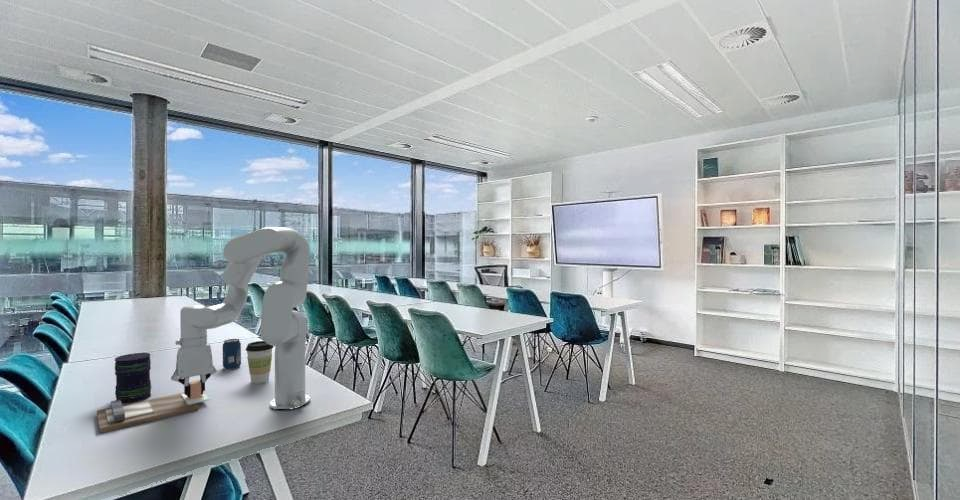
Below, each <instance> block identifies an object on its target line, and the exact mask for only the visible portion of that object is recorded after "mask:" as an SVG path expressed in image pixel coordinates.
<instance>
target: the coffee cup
mask: <svg viewBox="0 0 960 500" xmlns="http://www.w3.org/2000/svg"><path fill="white" fill-rule="evenodd" d="M273 349H274V346H272V345H269V344H267V343H266V342H265V341H264V340H261V341H260V340H259V341H253V342H250V343H248V344H247V346H246V348H245V351H246V354H247V356H246V357H247V363H248V370H249V376H250V383H251V384H253V383H260V384H263V383H262V382H265V383H267V382H269V381H268V380H270V373H271V368H272V359H273ZM266 381H267V382H266Z"/></svg>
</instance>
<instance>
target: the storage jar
mask: <svg viewBox="0 0 960 500" xmlns="http://www.w3.org/2000/svg"><path fill="white" fill-rule="evenodd" d="M114 362H115V363H114V370H115V371H114V374H115V378H116V379H115V381H116V383H115V387H114V388H115V392H114V394H115V398H116V399H115V401H116V400H121V403H122V405H125V404H130V403H135V402H140V401H145V400H149V398H151V396H152V393H151V392H152V384H151V383H152V381H151V376H150V374H151V363H152V361H151V353H150V352H149V353H148V352H137V353H135V352H134V353H128V354H123V355H120V356H117V357H115V358H114Z"/></svg>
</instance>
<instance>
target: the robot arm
mask: <svg viewBox="0 0 960 500" xmlns="http://www.w3.org/2000/svg"><path fill="white" fill-rule="evenodd" d="M310 247H311V246H310V244H309V241H308V239H307V238H306V237H305V236H304V235H303V234H302V233H301V232H299V231H297V230H296V229H294V228H293V229H292V228H289V227H279V226H277V227H276V226H275V227H274V226H269V227H267V226H266V227H263V228H260V229H256V230H254V231H251V232H248V233H245V234H242V235H239V236H235V237H234V238H231V239H230V240H228V241H227V243H226V244H225V245H224V247H223V251H222V252H223V253H222V254H223V257H224V258H225V260H226V261H227V262H228V263H227V265H226V266H225V268H224V270H223V272H222V273H221V279H222V281H223V282H224V283H225V284H227V285H228V289H227V292H226V295H225V297H224V298H223V301H222V302H221V303H218V304H215V305H211V306H205V305H200V304H194V305H193V304H192V305H187V306H186V305H185V306H183V307H182V308H181V309H180V315H179V316H180V323H179V324H180V337H179V339H178V340H175V342H174V343H175V345H176V346H178V345H179V346H178V348H177V353H176V360H175V361H176V362H175V365H176V366H175V371H174V373H173V374H172V376H171V377H170V378H171V381H174V382H178V383H180V384H182V385H183V389H184V390H183V391H184V394H185V395H187V397H191V394H190V385H189V382H190V378H192V377H193V378H194V377H198V376H199V381H200V382H201V395H202V394H203V393H204V392H205V391H206V382H207V380H208V379H210V378H211V376H213V375H214V374H216V373H217V372H218V370H217V369H216V367H215V366H214V364H213V363H214V361H213V353H212V352H213V351H212V348H211V347H212V346H211V344H210V343H209V342H208V330H213V329H216V328H219V327H222V326H225V325H229V324H232V323H233V322H234V321H235V320H236V319H238V317H239V316H240V314H241V312H242V311H243V309H244V306H246V302H247V299H248V296H249V295H248V294H249V293H248V292H249V288H248V286H249V284H250V281H251V279H253V276H254V274H255V273H256V270H257V268H258V266H259V265H260V263H261V261H262V259H263V258H264V256H268V255H271V254H280V253H282V254H284V258H283V261H282V264H281V266H280V278H279V281H277V282H274V283H272V284H271V285H269V286H268V287H267V289H266V290H265V292H264V295H263V297H262V307H261V308H262V309H261V318H260V330H259V331H260V336H261V338H262V341H265V342H266V343H267V344H269V345H272V346H273V347H275V348H274V398H273V399H272V400H271V401H270V402H269V408H271V409H272V408H273V409H272V410H275V409H290V408H295V407H298V406H301V405H304V404H306V403H308V402H309V401H311V396H310V395H309V394H306V340H307V332H308V320H307V318H306V317H305V316H306V315H304V314H303V313H302V312H301V311H298V310H295V309H294V308H297V307H299V306H301V305H302V304H303V303H305V301H306V298H307V290H308V281H309V267H310V258H311V254H310V253H311V250H310V249H311V248H310ZM309 403H310V402H309ZM309 403H308V404H309ZM306 405H307V404H306Z"/></svg>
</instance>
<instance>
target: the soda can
mask: <svg viewBox="0 0 960 500" xmlns="http://www.w3.org/2000/svg"><path fill="white" fill-rule="evenodd" d="M241 364H242V342H241V341H240V338H228V339H225V340H224V341H223V344H222V367H223V369H225V370H234V369H235V370H236V369H239V368H240V366H241Z"/></svg>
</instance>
